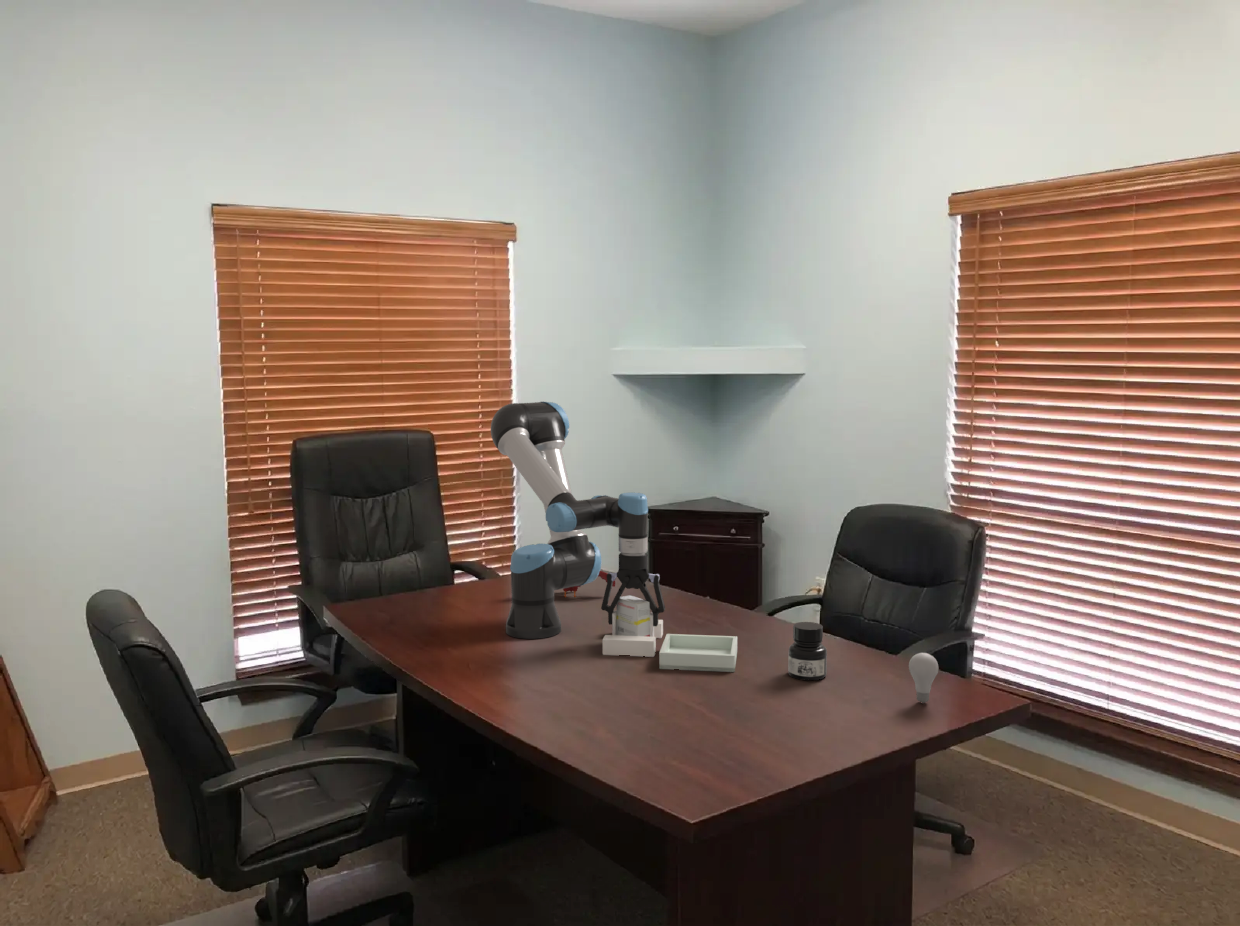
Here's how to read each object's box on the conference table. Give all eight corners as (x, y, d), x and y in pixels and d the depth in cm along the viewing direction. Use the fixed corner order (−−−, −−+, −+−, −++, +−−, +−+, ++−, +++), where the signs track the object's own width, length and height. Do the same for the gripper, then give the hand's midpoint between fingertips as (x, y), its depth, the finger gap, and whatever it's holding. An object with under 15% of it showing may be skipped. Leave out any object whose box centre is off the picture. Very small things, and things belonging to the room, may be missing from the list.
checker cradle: (602, 654, 244) (602, 639, 244) (615, 632, 264) (615, 618, 264) (653, 656, 242) (653, 641, 242) (663, 634, 262) (662, 619, 261)
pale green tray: (659, 668, 233) (659, 652, 233) (666, 648, 249) (666, 633, 248) (734, 672, 230) (734, 655, 230) (737, 651, 246) (737, 636, 245)
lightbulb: (933, 709, 205) (934, 659, 204) (904, 704, 208) (905, 654, 207) (940, 701, 210) (942, 651, 209) (912, 696, 213) (913, 647, 212)
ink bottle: (782, 678, 225) (783, 628, 224) (790, 667, 233) (791, 618, 232) (824, 683, 222) (825, 632, 220) (831, 672, 230) (832, 622, 228)
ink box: (651, 644, 252) (651, 600, 250) (636, 648, 248) (636, 603, 247) (630, 637, 258) (630, 594, 257) (615, 641, 255) (615, 597, 254)
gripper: (588, 554, 249) (589, 639, 251) (673, 557, 245) (673, 643, 248) (594, 548, 256) (594, 631, 259) (676, 551, 252) (676, 634, 255)
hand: (633, 637), depth 253 cm, fingers closed on ink box, 9 cm apart
